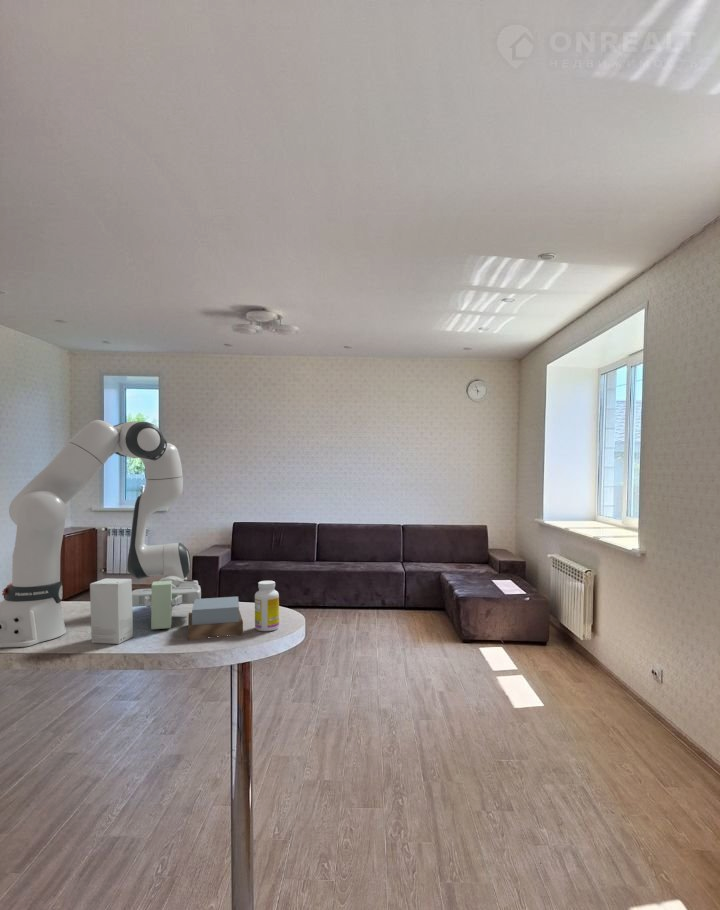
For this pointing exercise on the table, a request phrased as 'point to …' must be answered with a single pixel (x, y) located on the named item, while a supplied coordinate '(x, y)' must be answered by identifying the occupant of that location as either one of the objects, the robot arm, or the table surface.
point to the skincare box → (111, 611)
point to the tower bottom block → (214, 629)
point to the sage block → (161, 605)
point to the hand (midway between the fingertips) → (161, 603)
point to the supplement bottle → (266, 607)
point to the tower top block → (215, 610)
